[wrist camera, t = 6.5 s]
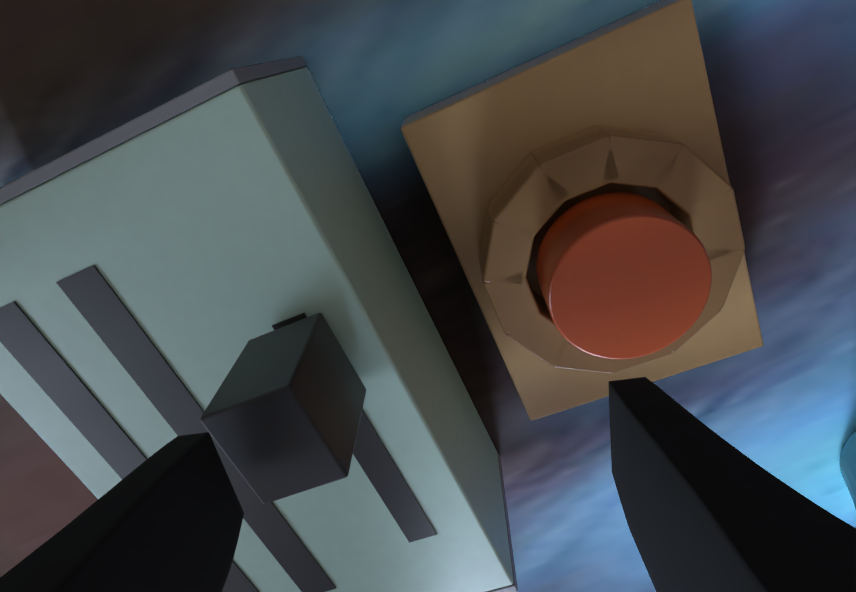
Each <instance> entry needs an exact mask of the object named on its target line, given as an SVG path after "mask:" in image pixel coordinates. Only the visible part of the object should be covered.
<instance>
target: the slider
mask: <svg viewBox="0 0 856 592" xmlns="http://www.w3.org/2000/svg"><path fill="white" fill-rule="evenodd" d="M365 395H366V388H365V386H364V385H363V383H362V381H361V379H360V378H359V376H358V374H357V373H356V371H355V369H354V367H353V366H352V364H351V362H350V361H349V359H348V357H347V356H346V354H345V352H344V350H343V349H342V347H341V345H340V344H339V342H338V340H337V338H336V337H335V335H334V333H333V332H332V330H331V328H330V326H329V325H328V323H327V321H326V320H325V318H324V316H323V314H322V313H317V314H314V315H312V316H309V317H307V318H304V319H302V320H299V321H297V322H294V323H292V324H289V325H286V326H284V327H281V328H279V329H276V330H274V331H271V332H269V333H266V334H264V335H261V336H259V337H256V338H254V339H251V340H249V341H248V343H247V344H246V346H245V347H244V349H243V351H242V352H241V354H240V355H239V357H238V358H237V360H236V362H235V363H234V365H233V366H232V368H231V370H230V371H229V373H228V374H227V376H226V378H225V379H224V381H223V382H222V384H221V386H220V387H219V389H218V390H217V392H216V394H215V395H214V397H213V398H212V400H211V402H210V403H209V405H208V406H207V408H206V410H205V411H204V413H203V414H202V416H201V418H200V421H201V423H202V424H203V425H204V427H205V428H206V429H207V431H208V432H209V433H210V435H211V436H212V437H213V439H214V440H215V441H216V443H217V444H218V445H219V446H220V448H221V449H222V450H223V452H224V453H225V454H226V456H227V457H228V458H229V460H230V461H231V462H232V464H233V465H234V466H235V467H236V469H237V470H238V471H239V473H240V474H241V475H242V477H243V478H244V479H245V481H246V482H247V483H248V485H249V486H250V487H251V489H252V490H253V491H254V492H255V494H256V495H257V496H258V498H259V499H260V500H261V502H262V503H263V504H267V503H270V502H273V501H276V500H279V499H282V498H285V497H288V496H291V495H294V494H297V493H301V492H304V491H307V490H310V489H313V488H316V487H319V486H322V485H325V484H328V483H331V482H334V481H338V480H341V479H344V478H346V477H347V476H348V474H349V469H350V465H351V460H352V455H353V451H354V446H355V441H356V437H357V432H358V427H359V423H360V418H361V413H362V409H363V404H364V399H365Z"/></svg>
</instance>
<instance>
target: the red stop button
mask: <svg viewBox="0 0 856 592" xmlns="http://www.w3.org/2000/svg"><path fill="white" fill-rule="evenodd" d="M537 277H538V282H539V285H540V288H541V291H542V294H543V296H544V299H545V302H546V304H547V307H548V310H549V312H550V315H551V318H552V320H553V322H554V324H555V326H556V328H557V329H558V331H559V332H560V334H561V335H562V336H563V337H564V338H565V339H566V340H567V341H568V342H569V343H571V344H572V345H573V346H575V347H576V348H578V349H580V350H581V351H583V352H586V353H588V354H590V355H593V356H597V357H600V358H606V359H632V358H637V357H642V356H645V355H649V354H652V353H654V352H657V351H659V350H661V349H663V348H665V347H667V346H669V345H670V344H672V343H673V342H675V341H676V340H678V339H679V338H680V337H681V336H682V335H684V334H685V333H686V332H687V331H688V330H689V329H690V328H691V327H692V326H693V324H694V323H695V322H696V320H697V319H698V318H699V316H700V314H701V313H702V311H703V309H704V307H705V305H706V303H707V300H708V297H709V294H710V289H711V283H712V270H711V264H710V260H709V256H708V253H707V251H706V249H705V247H704V245H703V244H702V242H701V241H700V240H699V238H698V237H697V236H696V235H695V234H694V233H693V232H692V231H691V230H690V229H689V228H687V227H686V226H685V225H684V224H682V223H681V222H680V221H679V220H678V219H676V218H675V217H674V216H673V215H671V214H670V213H669V212H668V211H667V210H665V209H664V208H663V207H662V206H660V205H659V204H657V203H656V202H654V201H653V200H651V199H649V198H647V197H644V196H641V195H638V194H633V193H627V192H612V193H604V194H599V195H596V196H592V197H589V198H587V199H585V200H583V201H580V202H578V203H577V204H575V205H573V206H572V207H570V208H569V209H568V210H566V211H565V212H564V213H563V214H561V215H560V216H559V217H558V218H557V219H556V220H555V222H554V223H553V224H552V225H551V227H550V228H549V229H548V231H547V233H546V234H545V236H544V238H543V240H542V243H541V245H540V248H539V252H538V257H537Z"/></svg>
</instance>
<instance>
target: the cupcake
mask: <svg viewBox="0 0 856 592" xmlns="http://www.w3.org/2000/svg"><path fill="white" fill-rule="evenodd" d="M840 471H841V474H842V477H843V479H844V481H845V483H846V485H847V488H848V490H849V492H850V494H851V497H852V499H853V502H854V505H855V508H856V431H855V432H854V433H853V434H852V435H851V436H850V438H849V439H848V441H847V442H846V444H845V446H844V448H843V450H842V453H841V456H840Z"/></svg>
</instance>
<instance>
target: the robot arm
mask: <svg viewBox="0 0 856 592" xmlns="http://www.w3.org/2000/svg"><path fill="white" fill-rule="evenodd" d="M608 383H609V408H610V433H611V457H612V474H613V477H614V480H615V484H616V487H617V490H618V494H619V497H620V500H621V504H622V507H623V510H624V513H625V516H626V520H627V523H628V526H629V529H630V531H631V534H632V536H633V538H634V541H635V543H636V545H637V548H638V550H639V552H640V555H641V557H642V559H643V562H644V564H645V566H646V569H647V571H648V573H649V576H650V578H651V580H652V583H653V585H654V587H655V589H656V592H856V528H854V527H853V526H851V525H849V524H847V523H846V522H844V521H842V520H841V519H839V518H837V517H836V516H834V515H832V514H831V513H829V512H828V511H826V510H824V509H823V508H821V507H820V506H818V505H817V504H815V503H813V502H812V501H810V500H809V499H807V498H806V497H804V496H803V495H801V494H800V493H798V492H797V491H795V490H794V489H792V488H791V487H789V486H788V485H786V484H785V483H783V482H782V481H780V480H779V479H777V478H776V477H774V476H773V475H772V474H770V473H769V472H767V471H766V470H764V469H763V468H762V467H760V466H759V465H757V464H756V463H755V462H753V461H752V460H751V459H749V458H748V457H747V456H745V455H744V454H743V453H741V452H740V451H739V450H737V449H736V448H735V447H733V446H732V445H731V444H729V443H728V442H727V441H725V440H724V439H723V438H721V437H720V436H719V435H717V434H716V433H715V432H713V431H712V430H711V429H710V428H708V427H707V426H706V425H704V424H703V423H702V422H701V421H699V420H698V419H697V418H696V417H694V416H693V415H692V414H691V413H689V412H688V411H687V410H686V409H684V408H683V407H682V406H681V405H680V404H678V403H677V402H676V401H675V400H673V399H672V398H671V397H670V396H669V395H667V394H666V393H665V392H664V391H662V390H661V389H660V388H659V387H658V386H656V385H655V384H654V383H653V382H651V381H650V380H649V379H647V378H646V377H639V378H631V379H623V380H615V381H608ZM243 516H244V511H243V509H242V507H241V505H240V502H239V500H238V498H237V495H236V493H235V491H234V489H233V486H232V484H231V482H230V479H229V477H228V475H227V472H226V470H225V468H224V466H223V463H222V461H221V459H220V456H219V454H218V452H217V450H216V447H215V445H214V443H213V440H212V438H211V436H210V434H209V432H205V433H198V434H190V435H182V436H177V437H176V438H174V439H173V440H171V441H170V442H169V443H167V444H166V445H165V446H163V447H162V448H161V449H159V450H158V451H157V452H155V453H154V454H153V455H152V456H150V457H149V458H148V459H147V460H145V461H144V462H143V463H142V464H141V465H139V466H138V467H137V468H136V469H134V470H133V471H132V472H131V473H130V474H128V475H127V476H126V477H125V478H124V479H122V480H121V481H120V482H119V483H118V484H116V485H115V486H114V487H113V488H112V489H110V490H109V491H108V492H107V493H106V494H104V495H103V496H102V497H101V498H100V499H98V500H97V501H96V502H95V503H94V504H92V505H91V506H90V507H89V508H87V509H86V510H85V511H84V512H83V513H81V514H80V515H79V516H78V517H77V518H75V519H74V520H73V521H72V522H71V523H69V524H68V525H67V526H66V527H64V528H63V529H62V530H61V531H59V532H58V533H57V534H55V535H54V536H53V537H52V538H50V539H49V540H48V541H47V542H45V543H44V544H43V545H41V546H40V547H39V548H38V549H36V550H35V551H34V552H33V553H31V554H30V555H29V556H27V557H26V558H25V559H24V560H22V561H21V562H20V563H18V564H17V565H16V566H15V567H13V568H12V569H11V570H10V571H8V572H7V573H6V574H4V575H3V576H2V577H0V592H222V590H223V588H224V585H225V582H226V580H227V577H228V574H229V571H230V569H231V565H232V561H233V558H234V554H235V550H236V546H237V542H238V538H239V534H240V529H241V525H242V520H243Z"/></svg>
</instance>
